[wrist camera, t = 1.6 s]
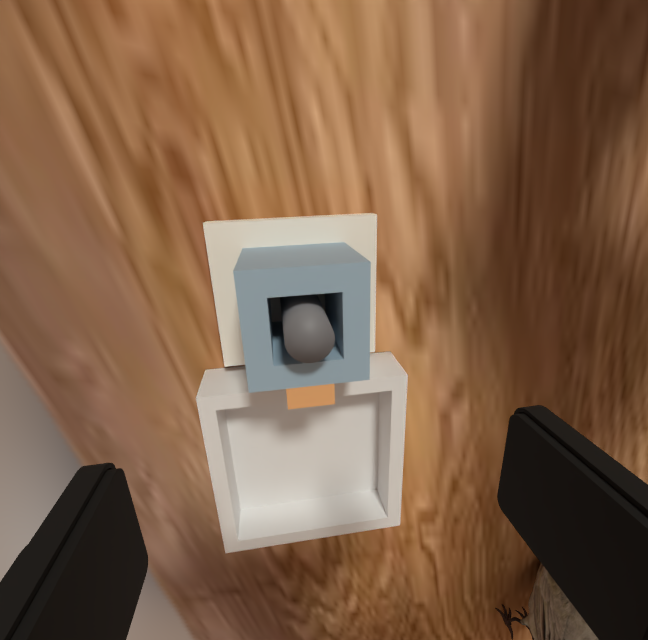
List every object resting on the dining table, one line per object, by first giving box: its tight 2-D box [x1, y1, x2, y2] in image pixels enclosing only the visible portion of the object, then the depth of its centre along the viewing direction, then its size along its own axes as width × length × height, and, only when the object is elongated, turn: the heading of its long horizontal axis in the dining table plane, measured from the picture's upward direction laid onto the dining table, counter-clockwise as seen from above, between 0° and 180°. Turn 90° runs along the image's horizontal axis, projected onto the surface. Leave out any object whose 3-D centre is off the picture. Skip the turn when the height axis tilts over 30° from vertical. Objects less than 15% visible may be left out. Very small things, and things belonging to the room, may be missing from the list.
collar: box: [233, 242, 371, 410], centre depth 20 cm, size 6×7×6 cm
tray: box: [196, 352, 408, 553], centre depth 26 cm, size 13×13×4 cm
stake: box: [203, 213, 377, 367], centre depth 19 cm, size 10×9×8 cm
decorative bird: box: [496, 563, 599, 640], centre depth 34 cm, size 5×16×7 cm, turn 160°
